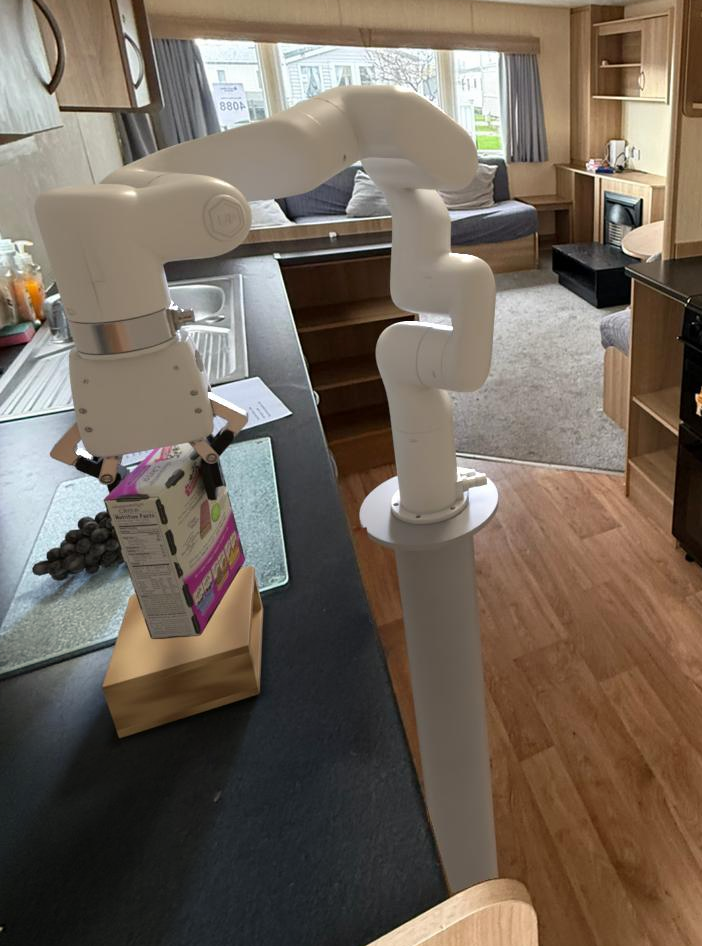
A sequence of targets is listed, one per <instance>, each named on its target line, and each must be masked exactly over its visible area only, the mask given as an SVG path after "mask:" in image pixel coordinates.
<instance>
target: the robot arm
mask: <svg viewBox="0 0 702 946" xmlns="http://www.w3.org/2000/svg"><path fill="white" fill-rule="evenodd" d="M359 161H360V164H361V166H362V168H363V170H364V172H365V173H366V175H367V176H368V177H369V179H370V180H371V181H372V183H374V185H375V186H376V187H377V189H378V190H379V192H380V193H381V195H382V196H383V199H384V200H385V202H386V203H387V206H388V210H389V212H390V216H391V223H392V224H391V229H392V230H391V251H390V252H391V253H390V254H391V255H390V272H389V288H390V289H389V290H390V297H391V301H392V302H393V304H394V305H395V307H397V308H398V309H400V310H402V311H404V312H409V313H413V314H419V315H426V316H431V317H432V316H433V317H441V318H447V319H448V318H449V319H451V320H450V321H451V326H448V325H442V324H435V323H429V322H422V321H421V322H419V321H400V322H396V323H393V324H391V325H389V326H387V327H386V328H385V329H384V330H383V331H382V332H381V334H380V335H379V338H377V342H376V345H375V361H376V366H377V368H378V372H379V375H380V377H381V379H382V383H383V385H384V389H385V393H386V397H387V402H388V408H389V417H390V424H391V425H390V426H391V434H392V441H393V442H392V443H393V450H394V458H395V460H394V461H395V469H396V476H397V477H398V485H399V490H398V491H397V492H396V493H395V494H394V495H393V497H392V499H391V510H392V513H393V515H394V516H395V517H396V518H397V519H399V520H401V521H403V522H406V523H410V524H419V525H424V524H433V523H438V522H441V521H445V520H447V519H449V518H452V517H453V516H455V515H457V514H458V513H459V512H461V511H462V510H463V509H464V508H465V506H466V505H467V503H468V499H469V494H468V491H469V488H473V487H479V486H483V485H487V478H488V477H487V474H486V473H481V474H480V475H476V472H477V471H476V470H475V469H470V471H467V472H463V473H461V471H460V472H458V469H457V467H458V463H457V453H456V452H457V451H456V439H455V427H454V411H453V405H452V400H451V397H450V395H449V393H448V391H449V392H456V393H473V392H476V391H478V390H479V389H481V388H482V387H483V386H484V385H485V383H486V382H487V379H488V377H489V374H490V371H491V366H492V358H493V345H494V334H495V333H494V332H495V331H494V330H495V318H496V305H497V304H496V302H497V301H496V300H497V287H496V279H495V276H494V273H493V271H492V268H491V267H490V265H489V264H488V263H487V262H486V261H485V260H483V258H479V257H478V256H474V255H471V254H470V255H469V254H460V253H452V248H451V247H452V245H451V244H452V241H451V239H452V219H451V216H450V211H449V209H448V207H447V204H446V203H445V201H444V199H443V198H442V196H441V195H440V193H439V191H445V192H454V191H460V190H463V189H465V188H467V187H468V186H470V184H472V183H473V181H474V180H475V177H476V175H477V173H478V169H479V154H478V150H477V147H476V143H475V141H474V140H473V137H472V136H471V134H469V132H467V130H466V129H465V128H464V127H463V126H462V125H461V124H459V123H458V122H457V121H455V120H454V119H453V118H452V117H450V116H449V115H448V114H447V113H445V111H443V109H441V108H440V107H438V106H437V105H436V104H434V103H433V102H432V101H430V100H429V99H428V98H427V97H425V96H423V95H422V94H420V93H418V92H417V91H415V90H413V89H411V88H409V87H406V86H403V85H398V84H378V85H377V84H348V85H338V86H335V87H332V88H329V89H327V90H324V91H322V92H320V93H318V94H316V95H314V96H312V97H310V98H307V99H305V100H303V101H301V102H298V103H296V104H294V105H293V106H290V107H288V108H286V109H283V110H281V111H279V112H277V113H275V114H272V115H271V116H269V117H266V118H263V119H261V120H258V121H254V122H251V123H247V124H242V125H239V126H236V127H235V126H234V127H232V128H229V129H226V130H223V131H219V132H215V133H213V134H209V135H206V136H201V137H198V138H195V139H191V140H186V141H184V142H180V143H177V144H174V145H171V146H168V147H165V148H162V149H160V150H158V151H156V152H153V153H150V154H148V155H146V156H143V157H141V158H139V159H136V160H135V161H132V162H130V163H127V164H126V165H122V166H121V167H119V168H117V169H115V170H113V171H112V172H110V173H109V174H108V175H106V176H105V177H104V178H102V179H101V181H100V182H99V183H94V184H79V185H70V186H63V187H56V188H52V189H48V190H46V191H43V192H41V193H40V194H39V195H38V196H37V197H36V199H35V201H34V206H33V207H34V215H35V218H36V219H35V220H36V223H37V225H38V230H39V232H40V235H41V239H42V243H43V245H44V249H45V252H46V255H47V258H48V262H49V265H50V268H51V269H50V270H51V271H52V275H53V279H54V282H55V284H56V285H55V286H56V288H57V291H58V295H59V298H60V301H61V304H62V307H63V311H64V314H65V317H66V320H67V324H68V327H69V330H70V335H71V338H72V340H73V343H74V346H73V347H72V348H71V349H70V351H69V353H68V371H69V373H68V374H69V383H70V391H71V397H72V403H73V404H72V405H73V410H74V414H75V419H76V420H75V421H74V422H73V424H72V425H71V426H70V427H69V428H68V429H67V430H66V432H65V433H64V434H63V435H62V436H61V437H60V438H59V440H57V441H56V443H54V445H53V447H52V449H51V450H50V452H49V457H50V458H52V459H53V460H56V461H58V462H60V463H63V464H65V465H68V466H72V467H74V468H75V469H76V470H77V471H79V472H81V473H83V474H85V475H88V476H90V477H93V478H95V479H97V480H98V482H99V483H100V484H101V485H103V486H106V487H107V491H108V495H109V494H110V493H111V492H112V491H113V490H114V489H115V488H116V487H117V486H118V485H119V484H120V483H121V482H122V481H123V480H124V479H125V478H126V477H127V476H128V475H129V474H130V473H131V470H130V468H127V466H124V465H123V464H122V461H123V459H124V458H123V457H124V456H126V455H131V454H137V453H141V452H147V451H153V450H154V449H158V448H163V447H169V446H174V445H179V444H184V443H189V444H190V445H191V446H192V447H193V448H194V449H195V451H196V452H197V453H198V454H199V455H200V456H201V457H202V460H201V466H200V469H201V474H202V477H203V481H204V485H205V489H206V493H207V497H208V500H211V501H213V500H217V496H218V488H219V487H221V486H224V478H225V475H223V474H224V471H223V468H222V463H220V462H221V459H220V457H221V456H222V455H223V453H224V452H225V451H226V450H227V449H228V448H229V446H230V444H232V443H233V441H234V440H235V438H236V437H237V436H238V435H239V433H241V431H242V430H243V429H244V428H245V426H246V425H247V424H248V422H249V412H248V411H247V410H244V409H242V408H241V407H239V406H238V405H235V404H233V403H232V402H229V401H228V400H225V399H223V398H221V397H219V396H217V395H215V394H214V393H213V388H212V385H211V382H210V379H209V376H208V373H207V370H206V367H205V364H204V361H203V359H202V356H201V354H200V351H199V349H198V347H197V345H196V342H195V340H194V338H193V336H192V334H191V333H190V331H188V330H185V329H182V327H185V326H187V325H191V324H195V323H196V316H195V313H194V312H195V311H194V309H193V308H187V309H183V308H179V307H178V306H177V305H175V302H174V300H172V297H171V293H170V288H169V285H168V280H167V276H166V272H165V268H164V265H165V264H166V263H169V262H177V261H188V260H199V259H207V258H208V259H209V258H214V257H219V256H222V255H224V254H225V255H226V254H228V253H230V252H232V251H233V250H235V249H236V248H238V247H239V246H240V245H241V244H243V242H244V241H245V240H246V238H247V237H248V235H249V233H250V231H251V228H252V223H253V215H252V210H251V206H250V204H249V203H250V202H258V201H259V202H260V201H271V200H278V199H285V198H290V197H295V196H298V195H304V194H306V193H309V192H311V191H313V190H315V189H316V188H317V189H318V187H320V186H321V185H322V184H325V183H326V182H327V181H329V180H330V179H332V178H333V177H335V176H337V175H338V174H340V173H341V172H343V171H345V170H346V169H348V168H350V167H351V166H353V165H355V164H356V163H357V162H359ZM217 417H219V418H221V419H223V420H225V421H227V422H226V424H225V425H224V426H223V427H221V428H220V430H219V431H218V432H217V433H216V434H213V432H214V430H215V429H214V428H215V424H214V420H215V419H214V418H217ZM80 442H82V445H83V447H84V448H80V447H79V446H78V444H79V443H80ZM84 449H85V450H84ZM475 471H476V472H475ZM486 477H487V478H486Z"/></svg>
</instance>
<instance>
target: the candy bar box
mask: <svg viewBox="0 0 702 946" xmlns="http://www.w3.org/2000/svg"><path fill="white" fill-rule="evenodd" d="M201 460H202V457H201V456H200V455H199V454H198V453H197V452H196V451H195V449H194V448H193V447H192V446H191V445H190V444H189V443H184V444H179V445H174V446H169V447H163V448H158V449H153V450H151V452H150V453H149V454H148V455H147V456H146V457H145V458H144V459H143V460H142V461H141V462H139V464H137V466H136V467H135V468H134V469H133V470H132V471H130V474H129V475H128V476H127V477H126V478H125V479H124V480H123V481H122V482H121V483H120V484H119V485H118V486H117V487H116V488H115V489H114V490H113V491H112V492H111V493H110V494H109V493H108V494H107V495H106V496H105V497H104V498H103V503H104V506H105V510H106V509H107V512H108V515H109V517H110V520H111V524H112V526H113V529H114V532H115V535H116V538H117V541H118V544H119V547H120V550H121V552H122V555H123V558H124V561H125V562H124V564H125V566H126V570H127V572H128V575H129V578H130V582H131V585H132V588H133V590H134V593H135V594H136V596H137V599H138V602H139V605H140V608H141V611H142V614H143V617H144V619H145V623H146V626H147V628H148V631H149V634H150V637H151V639H168V638H176V637H192V636H200V635H201V634H202V633H203V631H204V629H205V628H206V626H207V624H208V623H209V621H210V619H211V618H212V616H213V614H214V612H215V611H216V609H217V607H218V606H219V604H220V602H221V600H222V599H223V597H224V595H225V593H226V592H227V590H228V588H229V587H230V585H231V583H232V582H233V580H234V578H235V577H236V575H237V573H238V572H239V570H240V568H243V567H242V566H243V565H244V564H245V562H246V560H247V559H246V555H245V553H244V549H243V545H242V540H241V536H240V532H239V529H238V526H237V522H236V518H235V515H234V514H235V513H234V509H233V506H232V503H231V498H230V494H229V490H228V487H227V482H226V478H225V477H224V486H221V487H219V488H218V496H217V500H213V501H211V500H208V497H207V493H206V489H205V485H204V481H203V477H202V474H201V469H200V466H201ZM220 463H221V461H220ZM221 464H222V463H221ZM223 475H224V473H223ZM224 476H225V475H224Z"/></svg>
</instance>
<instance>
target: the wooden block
mask: <svg viewBox="0 0 702 946" xmlns="http://www.w3.org/2000/svg"><path fill="white" fill-rule="evenodd" d="M263 622H264V607H263V602H262V598H261V593H260V588H259V583H258V579H257V575H256V569H255V565H253V564H252V565H248V566H244V567H241V568H240V570H239V572H238V573H237V575H236V577H235V578H234V580H233V582H232V583H231V585H230V587H229V588H228V590H227V592H226V593H225V595H224V597H223V599H222V600H221V602H220V604H219V606H218V607H217V609H216V611H215V612H214V614H213V616H212V618H211V619H210V621H209V623H208V624H207V626H206V628H205V629H204V631H203V633H202V634H201V635H200V636H192V637H176V638H168V639H151V637H150V634H149V631H148V628H147V626H146V623H145V619H144V617H143V614H142V611H141V608H140V605H139V602H138V599H137V596H136V593H135V594H130V596H129V598H128V603H127V606H126V608H125V612H124V615H123V617H122V621H121V625H120V628H119V631H118V634H117V638H116V640H115V644H114V647H113V651H112V653H111V656H110V657H111V658H110V660H109V663H108V667H107V669H106V673H105V676H104V679H103V682H102V685H101V689H102V691H103V695H104V698H105V700H106V704H107V707H108V710H109V713H110V716H111V718H112V721H113V724H114V727H115V730H116V733H117V736H118V738H119V739H122V738H125V737H128V736H131V735H134V734H138V733H140V732H144V731H147V730H150V729H153V728H156V727H159V726H162V725H165V724H169V723H172V722H175V721H178V720H182V719H185V718H187V717H188V718H189V717H191V716H194V715H197V714H200V713H204V712H206V711H210V710H212V709H216V708H219V707H222V706H225V705H228V704H233V703H235V702H238V701H241V700H245V699H248V698H250V697H251V698H252V697H253V696H257V695H260V692H261V691H260V690H261V673H262V672H261V671H262V670H261V668H262V644H263V626H264V625H263Z"/></svg>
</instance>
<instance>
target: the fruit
mask: <svg viewBox="0 0 702 946" xmlns="http://www.w3.org/2000/svg"><path fill="white" fill-rule="evenodd" d="M76 526H77V527H78V529H70V530H69V531H67V532H66V533H65V535H64V539H63V540H62V541H61V542H60V543H59V546H58V547H57V546H55V547H53V548H50V549H49V550H48V551H47V552H46V555H45V557H46V559H45V560H39V561H38V562H36V563H34V564H33V566H32V567H31V569H32V570H31V571H32V572H31V573H32V574H33V575H35V576H39V577H41V576H44V575H47V574H49V575H50V577H51V578H52V579H53V580H54V581H58V582H59V581H60V582H61V581H64V580H67V578H68V577H69V575H70V576H74V575H75V576H76V575H78V574H80V573H83V572H85V574H87V575H95V574H97V573H98V572H99V570H100V567H101V568H102V569H109V568H111V567H112V566H113V565H122V564H125V561H124V558H123V555H122V552H121V550H120V547H119V544H118V541H117V538H116V535H115V532H114V529H113V526H112V524H111V520H110V517H109V515H108V512H107V509H106V508H105V510H103V511H99V512H98V513H96V514H95V515H94V518H93V517H91V516H88V515H87V516H83V517H80V519H78V521H77V524H76Z"/></svg>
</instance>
